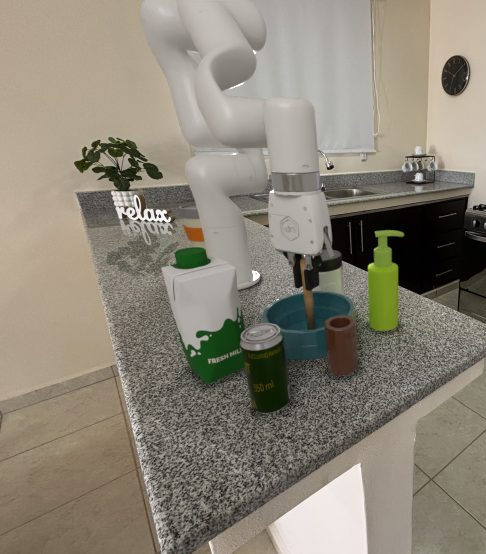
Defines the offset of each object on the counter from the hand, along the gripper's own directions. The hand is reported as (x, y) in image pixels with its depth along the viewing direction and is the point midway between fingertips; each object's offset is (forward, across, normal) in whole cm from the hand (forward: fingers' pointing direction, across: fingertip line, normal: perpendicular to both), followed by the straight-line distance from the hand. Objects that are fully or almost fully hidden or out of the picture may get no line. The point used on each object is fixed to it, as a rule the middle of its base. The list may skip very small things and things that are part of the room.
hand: (307, 286), depth 63 cm
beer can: (+11, +6, -17) cm, 21 cm away
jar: (+11, -6, +13) cm, 18 cm away
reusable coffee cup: (+11, -62, +28) cm, 69 cm away
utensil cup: (+11, +11, -6) cm, 16 cm away
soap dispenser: (+11, +11, +10) cm, 18 cm away
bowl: (+11, 0, 0) cm, 11 cm away
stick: (+10, 0, 0) cm, 10 cm away
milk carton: (+11, -8, -14) cm, 20 cm away
